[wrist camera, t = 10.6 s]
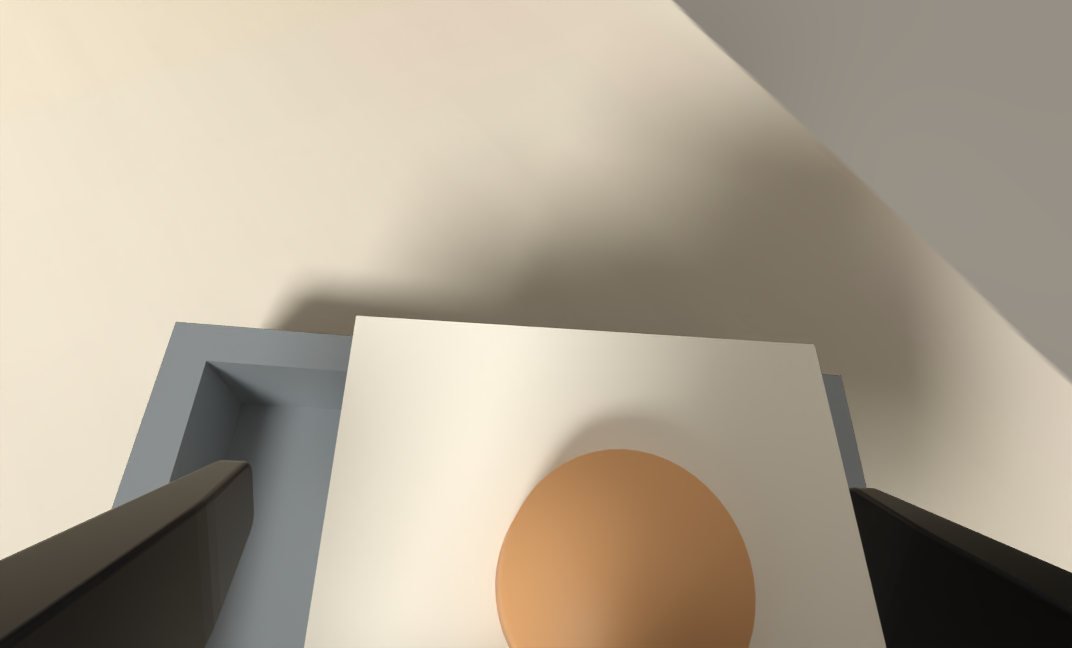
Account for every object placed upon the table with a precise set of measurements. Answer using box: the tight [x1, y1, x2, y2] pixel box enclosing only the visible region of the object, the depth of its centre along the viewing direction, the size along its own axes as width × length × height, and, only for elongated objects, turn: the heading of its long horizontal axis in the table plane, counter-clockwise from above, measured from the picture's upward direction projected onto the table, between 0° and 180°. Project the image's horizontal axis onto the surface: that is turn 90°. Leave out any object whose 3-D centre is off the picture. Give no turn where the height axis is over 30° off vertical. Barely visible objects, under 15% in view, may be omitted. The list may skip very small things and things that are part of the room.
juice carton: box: [304, 316, 886, 648], centre depth 11 cm, size 6×6×12 cm
